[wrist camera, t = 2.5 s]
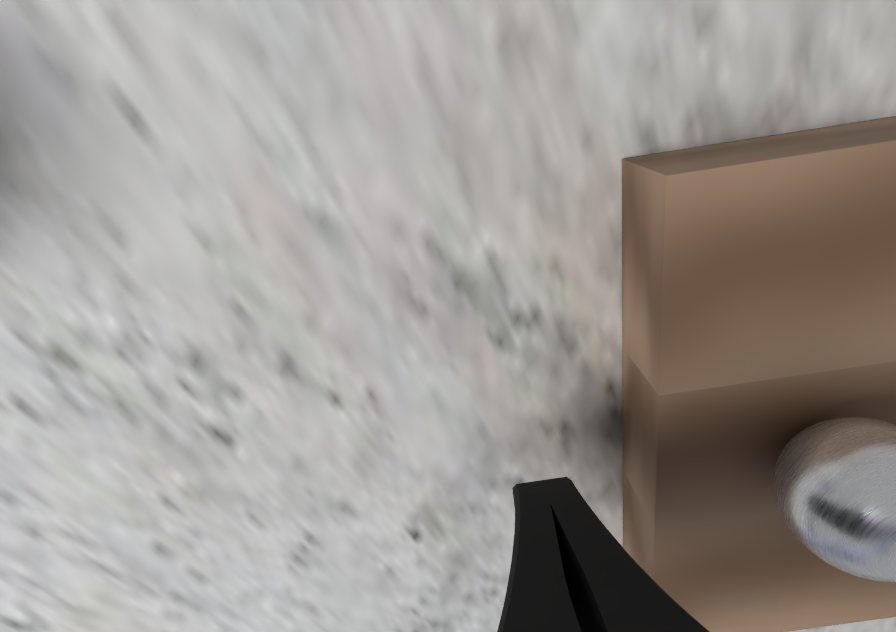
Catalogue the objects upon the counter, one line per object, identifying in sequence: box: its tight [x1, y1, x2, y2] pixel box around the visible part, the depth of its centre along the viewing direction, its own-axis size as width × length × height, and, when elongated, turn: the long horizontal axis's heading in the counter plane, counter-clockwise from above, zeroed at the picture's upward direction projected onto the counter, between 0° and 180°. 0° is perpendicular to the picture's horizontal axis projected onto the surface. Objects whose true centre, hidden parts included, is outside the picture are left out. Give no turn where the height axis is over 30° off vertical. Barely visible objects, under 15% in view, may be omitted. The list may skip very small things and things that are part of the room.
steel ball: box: [773, 417, 896, 582], centre depth 12 cm, size 4×4×4 cm
